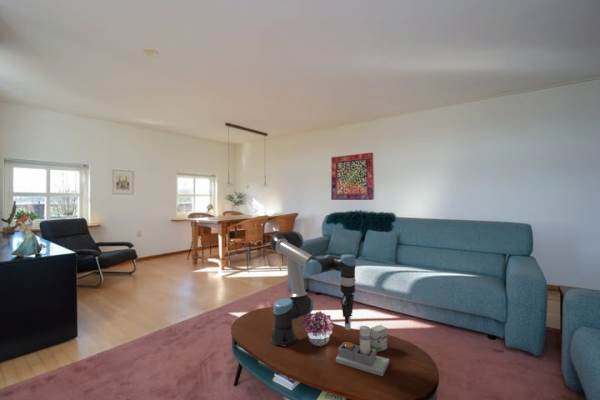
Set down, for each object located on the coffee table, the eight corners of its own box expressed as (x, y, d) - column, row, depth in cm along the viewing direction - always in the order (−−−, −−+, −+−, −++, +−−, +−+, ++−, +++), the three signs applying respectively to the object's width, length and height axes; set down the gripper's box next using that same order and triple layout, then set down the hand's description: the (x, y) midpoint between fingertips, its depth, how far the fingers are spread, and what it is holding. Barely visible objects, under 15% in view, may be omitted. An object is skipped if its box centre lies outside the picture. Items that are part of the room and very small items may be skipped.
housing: (335, 362, 147) (335, 350, 147) (345, 350, 158) (345, 339, 158) (382, 376, 135) (382, 363, 135) (389, 362, 146) (389, 351, 146)
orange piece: (342, 355, 149) (342, 345, 150) (345, 350, 154) (345, 341, 154) (351, 357, 147) (351, 347, 147) (354, 353, 151) (354, 343, 151)
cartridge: (358, 360, 145) (358, 328, 145) (361, 355, 149) (361, 325, 149) (368, 363, 142) (368, 331, 142) (371, 358, 147) (371, 327, 147)
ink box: (377, 353, 156) (376, 331, 156) (370, 349, 160) (370, 328, 160) (387, 348, 160) (387, 327, 160) (380, 344, 164) (380, 324, 165)
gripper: (350, 288, 143) (349, 335, 143) (358, 282, 154) (358, 325, 154) (336, 286, 147) (336, 332, 147) (345, 280, 158) (345, 322, 158)
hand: (347, 328), depth 151 cm, fingers closed
